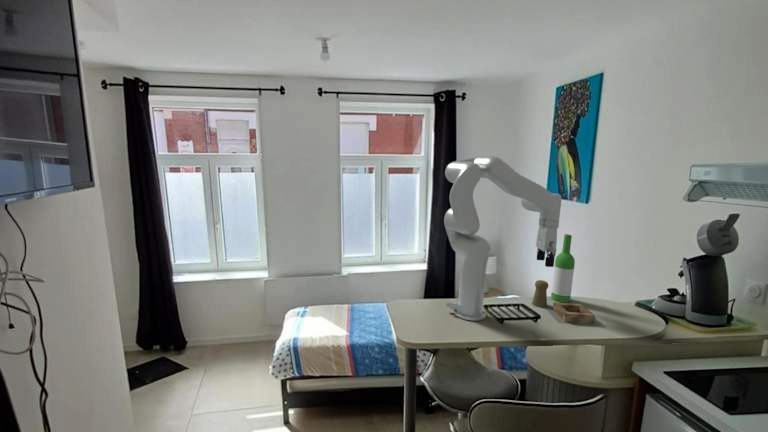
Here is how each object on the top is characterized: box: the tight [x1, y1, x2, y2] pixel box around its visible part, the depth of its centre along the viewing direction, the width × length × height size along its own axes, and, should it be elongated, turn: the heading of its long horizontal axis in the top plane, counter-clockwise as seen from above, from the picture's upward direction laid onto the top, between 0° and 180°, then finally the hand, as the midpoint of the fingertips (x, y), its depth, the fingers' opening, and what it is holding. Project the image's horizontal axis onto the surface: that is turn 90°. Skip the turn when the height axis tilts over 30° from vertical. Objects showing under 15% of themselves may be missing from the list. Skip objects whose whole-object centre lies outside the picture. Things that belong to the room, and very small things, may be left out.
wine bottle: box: [550, 233, 575, 303], centre depth 160 cm, size 8×8×30 cm
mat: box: [545, 308, 597, 327], centre depth 144 cm, size 14×13×1 cm
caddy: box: [552, 302, 596, 324], centre depth 143 cm, size 11×11×4 cm
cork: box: [531, 279, 549, 309], centre depth 154 cm, size 6×6×11 cm
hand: (544, 263), depth 152 cm, fingers open, 9 cm apart
